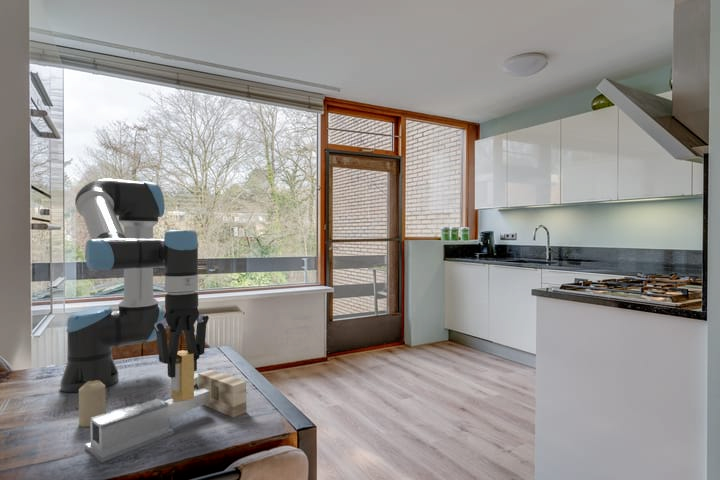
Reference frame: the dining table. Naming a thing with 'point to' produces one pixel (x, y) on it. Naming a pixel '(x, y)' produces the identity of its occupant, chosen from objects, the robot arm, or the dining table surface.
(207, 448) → the dining table surface
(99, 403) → the candle
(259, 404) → the dining table surface
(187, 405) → the tube
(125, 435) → the sleeve
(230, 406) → the socket block
